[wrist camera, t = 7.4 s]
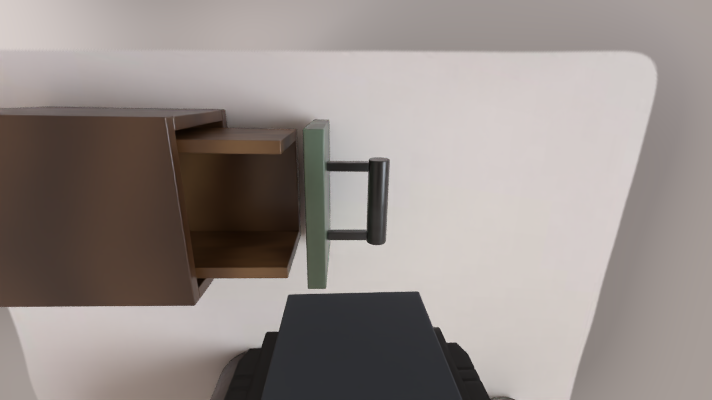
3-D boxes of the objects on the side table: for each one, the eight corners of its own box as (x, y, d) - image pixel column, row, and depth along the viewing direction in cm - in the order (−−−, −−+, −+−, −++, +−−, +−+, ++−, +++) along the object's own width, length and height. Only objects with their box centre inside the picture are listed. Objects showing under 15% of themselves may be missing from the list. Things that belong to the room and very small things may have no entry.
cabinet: (225, 109, 26) (165, 117, 17) (238, 243, 29) (195, 306, 21) (46, 106, 25) (-109, 112, 17) (82, 243, 29) (-31, 307, 20)
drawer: (383, 120, 26) (397, 130, 19) (378, 242, 29) (389, 288, 22) (164, 117, 25) (95, 125, 18) (184, 241, 28) (132, 290, 21)
